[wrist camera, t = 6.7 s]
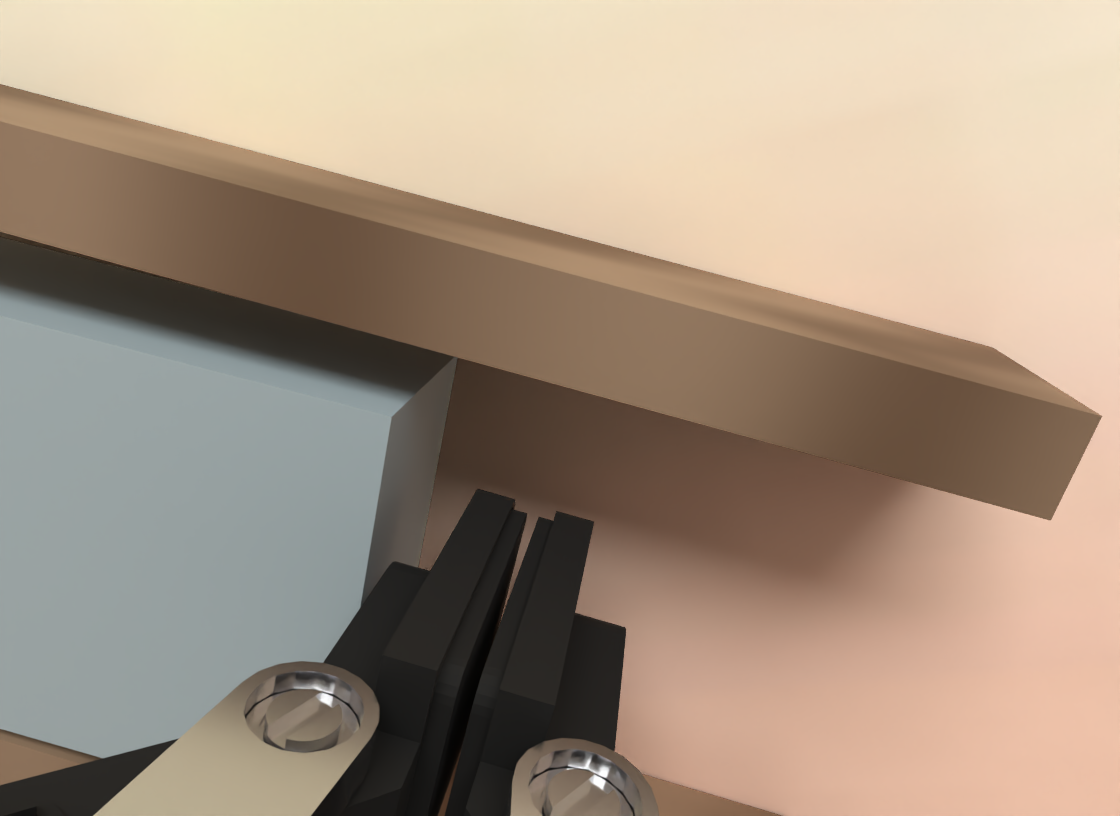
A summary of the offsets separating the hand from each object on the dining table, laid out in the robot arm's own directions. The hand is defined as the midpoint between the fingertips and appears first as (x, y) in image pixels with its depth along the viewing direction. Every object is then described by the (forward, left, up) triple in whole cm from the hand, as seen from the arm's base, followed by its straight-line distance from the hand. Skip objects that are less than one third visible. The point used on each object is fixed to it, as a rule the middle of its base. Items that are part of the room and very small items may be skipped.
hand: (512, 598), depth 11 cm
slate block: (+6, 0, -2) cm, 6 cm away
